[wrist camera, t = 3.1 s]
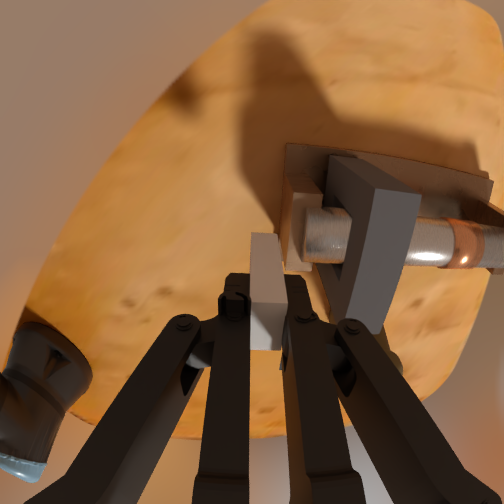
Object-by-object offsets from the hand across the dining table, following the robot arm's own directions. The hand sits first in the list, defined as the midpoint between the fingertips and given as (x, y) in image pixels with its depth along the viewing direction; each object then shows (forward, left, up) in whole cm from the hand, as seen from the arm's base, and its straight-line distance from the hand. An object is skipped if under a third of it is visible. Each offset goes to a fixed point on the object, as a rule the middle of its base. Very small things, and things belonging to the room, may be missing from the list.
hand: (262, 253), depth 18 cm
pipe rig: (+14, 0, -10) cm, 17 cm away
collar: (+7, 0, -8) cm, 11 cm away
